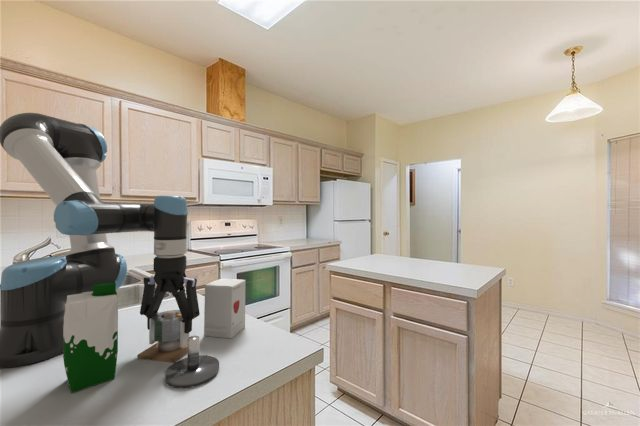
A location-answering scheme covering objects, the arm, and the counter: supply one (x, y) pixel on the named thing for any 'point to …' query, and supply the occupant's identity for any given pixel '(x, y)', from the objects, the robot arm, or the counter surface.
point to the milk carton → (91, 336)
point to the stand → (164, 349)
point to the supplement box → (224, 307)
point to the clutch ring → (165, 327)
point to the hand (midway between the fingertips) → (169, 343)
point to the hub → (192, 367)
